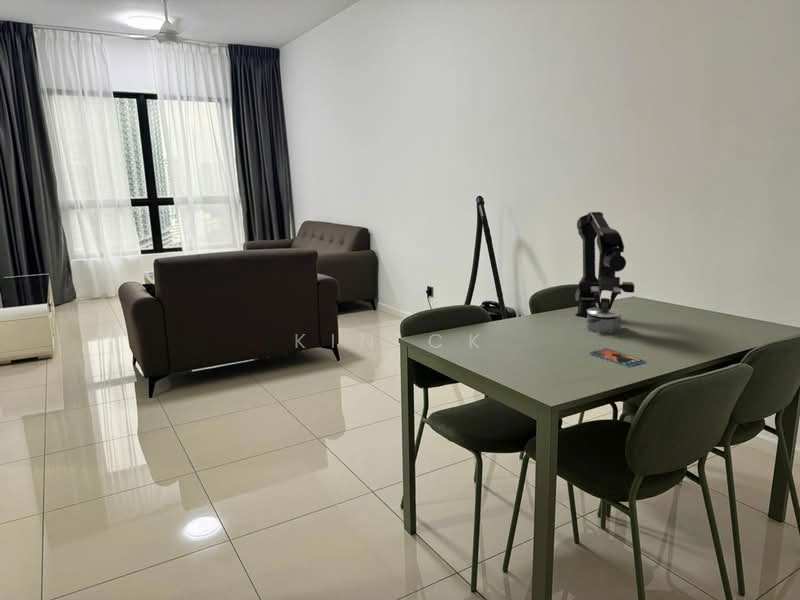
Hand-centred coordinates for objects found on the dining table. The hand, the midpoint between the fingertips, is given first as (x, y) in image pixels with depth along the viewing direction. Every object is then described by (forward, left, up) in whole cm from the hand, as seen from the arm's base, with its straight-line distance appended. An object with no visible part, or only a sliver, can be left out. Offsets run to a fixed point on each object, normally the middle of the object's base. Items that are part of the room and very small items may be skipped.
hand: (604, 309), depth 204 cm
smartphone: (+23, -26, -8) cm, 36 cm away
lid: (0, 0, -2) cm, 3 cm away
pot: (0, 0, -8) cm, 8 cm away
